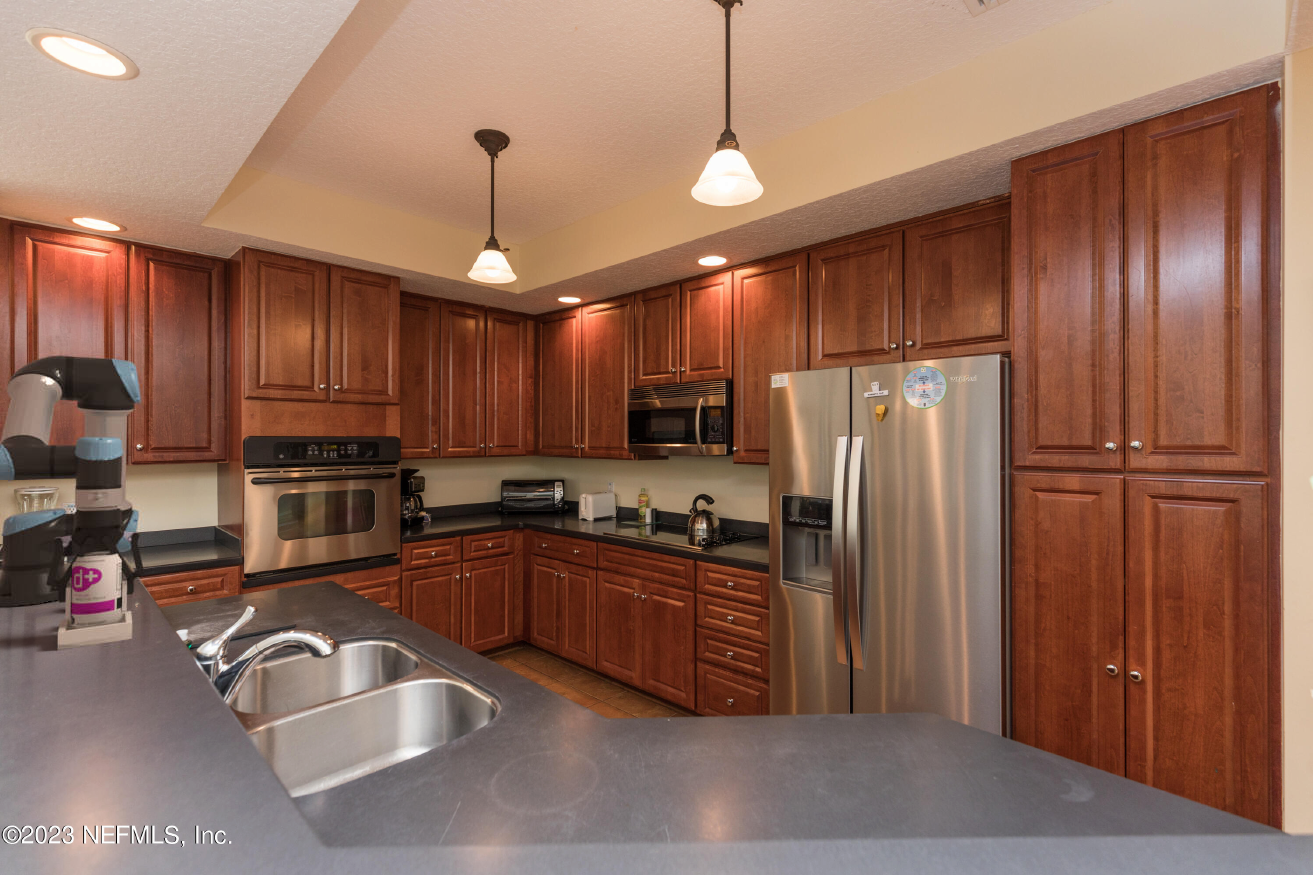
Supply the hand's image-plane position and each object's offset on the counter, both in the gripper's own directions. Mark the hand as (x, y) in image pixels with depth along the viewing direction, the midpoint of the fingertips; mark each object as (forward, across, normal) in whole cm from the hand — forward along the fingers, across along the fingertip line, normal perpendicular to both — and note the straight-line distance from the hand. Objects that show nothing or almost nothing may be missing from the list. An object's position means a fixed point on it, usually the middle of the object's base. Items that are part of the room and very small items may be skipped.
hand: (96, 613), depth 134 cm
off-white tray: (+5, 0, 0) cm, 5 cm away
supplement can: (+3, 0, 0) cm, 3 cm away
